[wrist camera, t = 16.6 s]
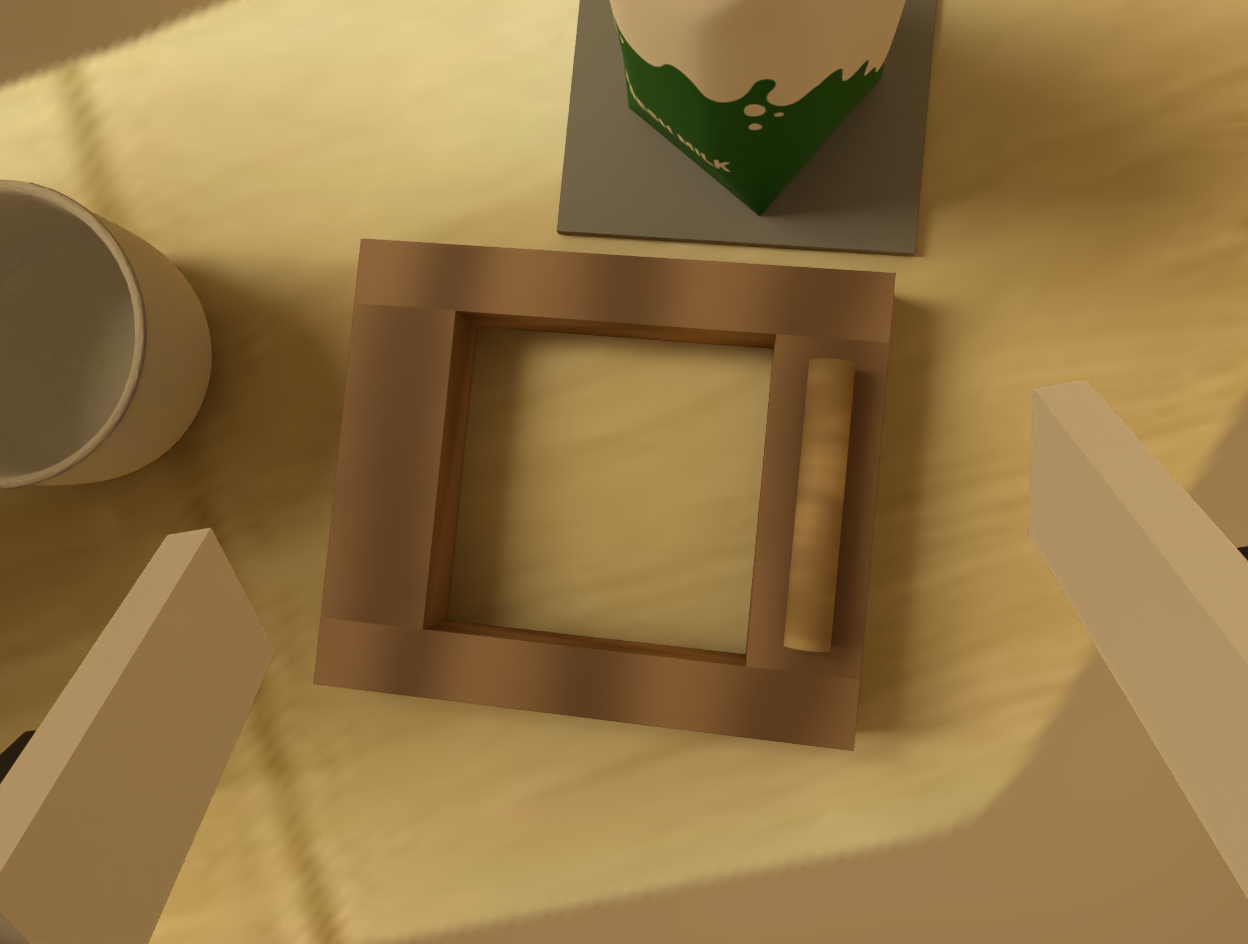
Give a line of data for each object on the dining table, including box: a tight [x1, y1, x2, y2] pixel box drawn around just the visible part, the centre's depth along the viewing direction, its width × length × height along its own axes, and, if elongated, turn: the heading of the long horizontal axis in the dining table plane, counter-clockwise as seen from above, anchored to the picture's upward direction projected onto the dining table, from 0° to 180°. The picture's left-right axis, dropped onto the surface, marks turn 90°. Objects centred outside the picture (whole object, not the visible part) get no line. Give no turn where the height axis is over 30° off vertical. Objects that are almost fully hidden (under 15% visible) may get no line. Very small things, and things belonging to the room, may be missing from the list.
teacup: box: [0, 180, 212, 489], centre depth 37 cm, size 14×11×8 cm
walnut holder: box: [314, 239, 896, 751], centre depth 36 cm, size 20×17×5 cm
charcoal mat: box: [557, 0, 937, 256], centre depth 38 cm, size 14×12×1 cm
